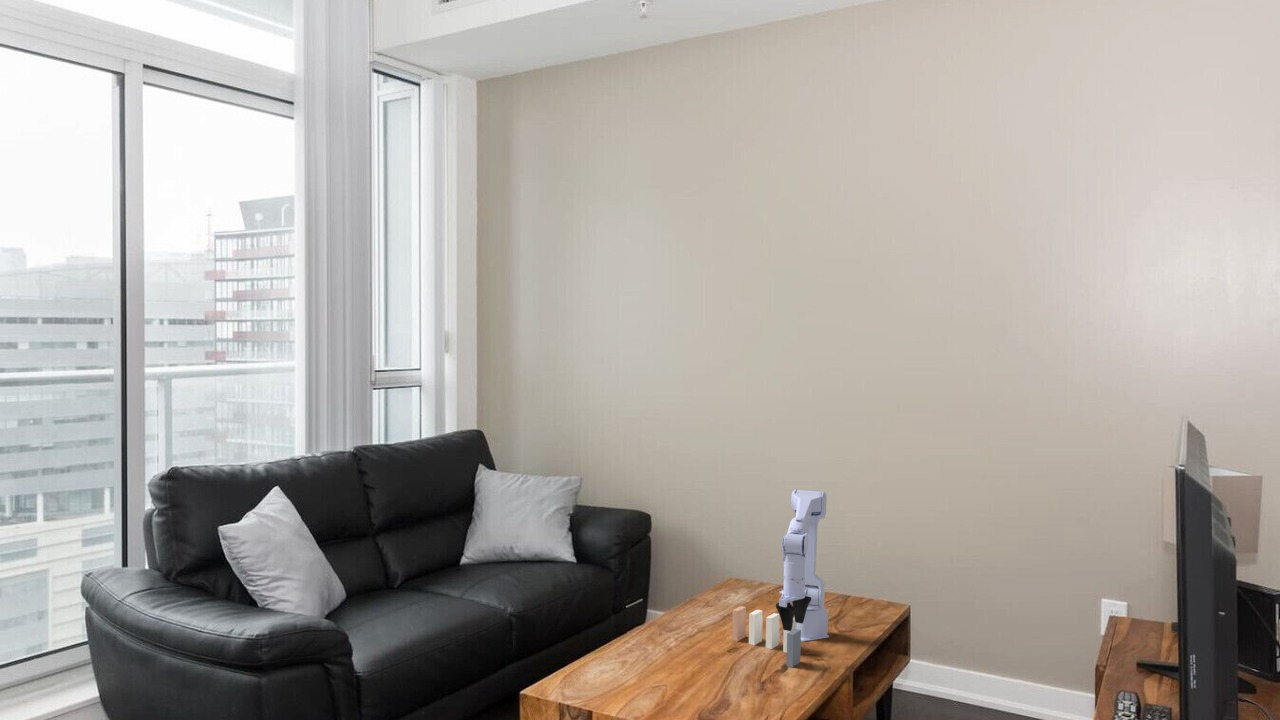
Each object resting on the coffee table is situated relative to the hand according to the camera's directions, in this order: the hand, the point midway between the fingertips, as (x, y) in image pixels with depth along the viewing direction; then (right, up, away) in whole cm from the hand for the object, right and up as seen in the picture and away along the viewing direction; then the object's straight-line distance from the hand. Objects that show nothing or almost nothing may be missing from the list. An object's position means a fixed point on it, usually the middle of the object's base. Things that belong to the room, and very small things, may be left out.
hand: (793, 626), depth 256 cm
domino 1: (-13, -9, +20) cm, 26 cm away
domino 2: (-8, -10, +17) cm, 21 cm away
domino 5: (0, -10, 0) cm, 10 cm away
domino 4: (+1, -10, +11) cm, 15 cm away
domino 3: (-4, -10, +14) cm, 18 cm away
